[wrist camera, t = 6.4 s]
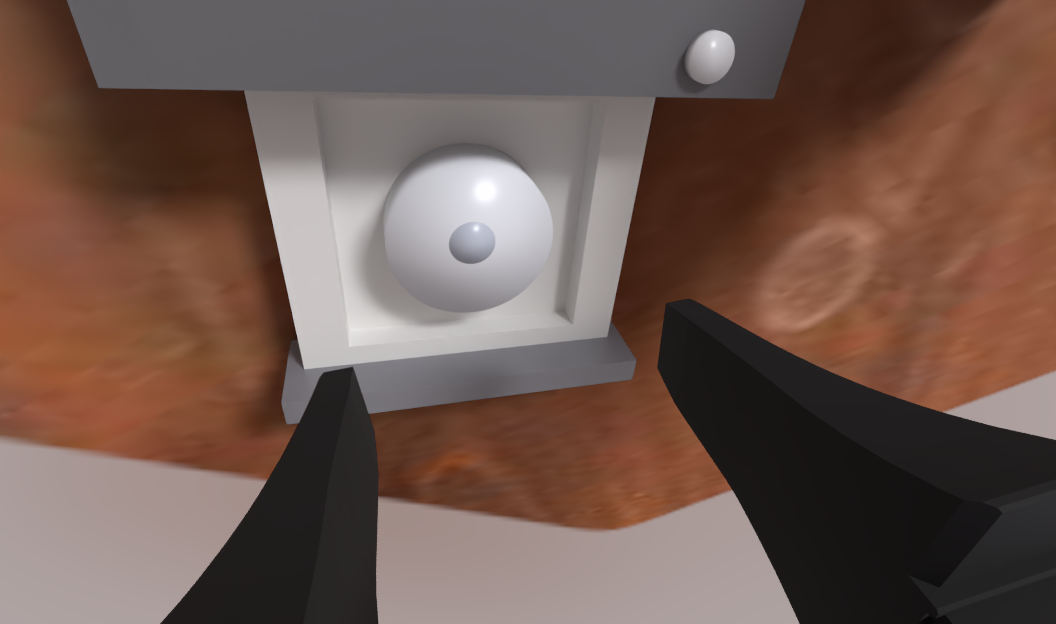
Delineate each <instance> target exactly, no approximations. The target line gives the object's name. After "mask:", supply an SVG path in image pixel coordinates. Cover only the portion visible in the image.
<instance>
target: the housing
mask: <svg viewBox="0 0 1056 624" xmlns="http://www.w3.org/2000/svg"><path fill="white" fill-rule="evenodd" d="M805 1H806V0H67V2H68V5H69V8H70V10H71V13H72V16H73V19H74V21H75V24H76V27H77V30H78V32H79V35H80V38H81V41H82V43H83V46H84V49H85V52H86V54H87V57H88V60H89V63H90V66H91V68H92V71H93V74H94V77H95V79H96V82H97V85H98V88H123V89H185V90H246V91H308V92H370V93H431V94H493V95H554V96H616V97H678V98H739V99H774V97H775V94H776V91H777V88H778V84H779V81H780V78H781V75H782V72H783V69H784V66H785V63H786V60H787V57H788V53H789V50H790V47H791V44H792V41H793V38H794V35H795V32H796V29H797V26H798V23H799V19H800V16H801V13H802V10H803V7H804V4H805Z"/></svg>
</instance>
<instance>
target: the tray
mask: <svg viewBox="0 0 1056 624" xmlns="http://www.w3.org/2000/svg"><path fill="white" fill-rule="evenodd" d="M244 93H245V97H246V102H247V106H248V111H249V116H250V120H251V125H252V130H253V134H254V139H255V144H256V148H257V153H258V157H259V162H260V167H261V171H262V176H263V181H264V185H265V190H266V194H267V199H268V204H269V208H270V213H271V218H272V222H273V227H274V232H275V236H276V241H277V245H278V250H279V255H280V259H281V264H282V269H283V273H284V278H285V282H286V287H287V292H288V296H289V301H290V306H291V310H292V315H293V319H294V324H295V329H296V333H297V338H298V340H291V342H290V348H289V355H288V362H287V368H286V375H285V381H284V388H283V395H282V401H281V404H282V408H283V412H284V416H285V420H286V423H287V424H295V423H299V422H300V420H301V418H302V416H303V413H304V411H305V409H306V407H307V405H308V403H309V401H310V398H311V396H312V394H313V392H314V389H315V387H316V385H317V382H318V380H319V377H320V376H321V375H322V374H323V372H328V371H333V370H338V369H343V368H348V367H353V368H354V371H355V374H356V377H357V380H358V383H359V386H360V389H361V392H362V395H363V398H364V401H365V404H366V407H367V410H368V413H369V414H371V413H379V412H387V411H394V410H402V409H410V408H417V407H425V406H433V405H440V404H448V403H456V402H463V401H471V400H479V399H486V398H494V397H502V396H509V395H517V394H525V393H532V392H540V391H548V390H555V389H563V388H571V387H578V386H586V385H594V384H601V383H609V382H617V381H624V380H632V378H633V374H634V370H635V366H636V362H637V360H636V358H635V357H634V355H633V354H632V352H631V351H630V349H629V347H628V346H627V344H626V343H625V341H624V340H623V338H622V337H621V335H620V334H619V332H618V331H617V329H616V328H615V326H614V324H613V323H612V321H611V316H612V311H613V306H614V301H615V296H616V291H617V286H618V281H619V276H620V271H621V266H622V261H623V256H624V251H625V246H626V241H627V236H628V232H629V227H630V222H631V217H632V212H633V207H634V202H635V197H636V192H637V187H638V182H639V177H640V172H641V167H642V162H643V157H644V152H645V147H646V142H647V137H648V132H649V127H650V122H651V118H652V113H653V108H654V103H655V98H656V97H616V96H554V95H493V94H431V93H370V92H308V91H246V90H244ZM460 143H471V144H479V145H485V146H488V147H491V148H494V149H497V150H499V151H501V152H503V153H505V154H507V155H508V156H510V157H511V158H513V159H514V160H515V161H516V162H517V163H519V164H520V165H521V166H522V167H523V169H524V170H525V171H526V172H527V173H528V175H529V176H530V178H531V179H532V180H533V182H534V183H535V185H536V186H537V188H538V189H539V190H540V192H541V193H542V195H543V197H544V198H545V200H546V202H547V204H548V207H549V209H550V213H551V217H552V223H553V240H552V246H551V250H550V253H549V256H548V259H547V261H546V263H545V265H544V267H543V269H542V270H541V272H540V274H539V275H538V276H537V277H536V279H535V280H534V281H533V282H532V283H531V284H530V285H529V286H528V287H527V288H526V289H525V290H524V291H523V292H521V293H520V294H519V295H518V296H516V297H514V298H513V299H511V300H510V301H508V302H506V303H504V304H502V305H499V306H497V307H494V308H491V309H487V310H483V311H478V312H468V313H458V312H449V311H443V310H440V309H436V308H433V307H431V306H428V305H426V304H424V303H422V302H420V301H419V300H417V299H416V298H414V297H413V296H412V295H410V294H409V293H408V292H407V291H406V290H405V289H404V288H403V287H402V286H401V285H400V283H399V282H398V281H397V279H396V278H395V276H394V274H393V272H392V270H391V268H390V265H389V262H388V259H387V254H386V248H385V237H384V227H383V213H384V206H385V202H386V199H387V195H388V193H389V191H390V189H391V186H392V185H393V183H394V182H395V180H396V178H397V177H398V176H399V175H400V173H401V172H402V171H403V170H404V169H405V168H406V167H407V166H408V165H409V164H410V163H411V162H413V161H414V160H415V159H417V158H418V157H420V156H421V155H423V154H425V153H427V152H429V151H431V150H434V149H436V148H439V147H442V146H447V145H451V144H460Z"/></svg>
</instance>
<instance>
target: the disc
mask: <svg viewBox="0 0 1056 624" xmlns="http://www.w3.org/2000/svg"><path fill="white" fill-rule="evenodd" d="M383 227H384V237H385V248H386V254H387V259H388V262H389V265H390V268H391V270H392V272H393V274H394V276H395V278H396V279H397V281H398V282H399V283H400V285H401V286H402V287H403V288H404V289H405V290H406V291H407V292H408V293H409V294H410V295H412V296H413V297H414V298H416V299H417V300H419V301H420V302H422V303H424V304H426V305H428V306H431V307H433V308H436V309H440V310H443V311H449V312H458V313H468V312H478V311H483V310H487V309H491V308H494V307H497V306H499V305H502V304H504V303H506V302H508V301H510V300H511V299H513V298H514V297H516V296H518V295H519V294H520V293H521V292H523V291H524V290H525V289H526V288H527V287H528V286H529V285H530V284H531V283H532V282H533V281H534V280H535V279H536V277H537V276H538V275H539V274H540V272H541V270H542V269H543V267H544V265H545V263H546V261H547V259H548V256H549V253H550V250H551V246H552V240H553V223H552V217H551V213H550V209H549V207H548V204H547V202H546V200H545V198H544V197H543V195H542V193H541V192H540V190H539V189H538V188H537V186H536V185H535V183H534V182H533V180H532V179H531V178H530V176H529V175H528V173H527V172H526V171H525V170H524V169H523V167H522V166H521V165H520V164H519V163H517V162H516V161H515V160H514V159H513V158H511V157H510V156H508V155H507V154H505V153H503V152H501V151H499V150H497V149H494V148H491V147H488V146H485V145H479V144H471V143H460V144H451V145H447V146H442V147H439V148H436V149H434V150H431V151H429V152H427V153H425V154H423V155H421V156H420V157H418V158H417V159H415V160H414V161H413V162H411V163H410V164H409V165H408V166H407V167H406V168H405V169H404V170H403V171H402V172H401V173H400V175H399V176H398V177H397V178H396V180H395V182H394V183H393V185H392V186H391V189H390V191H389V193H388V195H387V199H386V202H385V206H384V213H383Z"/></svg>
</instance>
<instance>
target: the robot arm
mask: <svg viewBox="0 0 1056 624" xmlns="http://www.w3.org/2000/svg"><path fill="white" fill-rule="evenodd" d="M657 368H658V370H659V372H660V374H661V376H662V378H663V381H664V383H665V385H666V387H667V389H668V391H669V393H670V395H671V397H672V399H673V401H674V403H675V404H676V406H677V407H678V409H679V410H680V412H681V414H682V415H683V417H684V418H685V420H686V421H687V423H688V424H689V426H690V427H691V429H692V430H693V432H694V433H695V434H696V436H697V437H698V439H699V440H700V442H701V443H702V445H703V446H704V448H705V449H706V451H707V452H708V454H709V455H710V457H711V458H712V459H713V461H714V462H715V464H716V465H717V467H718V468H719V470H720V471H721V473H722V474H723V476H724V477H725V479H726V480H727V482H728V484H729V485H730V487H731V488H732V490H733V492H734V493H735V495H736V497H737V498H738V500H739V502H740V504H741V506H742V508H743V509H744V511H745V513H746V515H747V517H748V519H749V521H750V523H751V524H752V526H753V528H754V530H755V532H756V534H757V536H758V538H759V540H760V541H761V544H762V546H763V548H764V550H765V552H766V554H767V556H768V558H769V559H770V562H771V564H772V566H773V568H774V570H775V571H776V574H777V576H778V578H779V580H780V582H781V584H782V587H783V589H784V591H785V593H786V595H787V597H788V599H789V601H790V604H791V606H792V608H793V610H794V612H795V614H796V617H797V619H798V621H799V623H800V624H1056V440H1053V439H1048V438H1044V437H1040V436H1035V435H1030V434H1026V433H1021V432H1016V431H1012V430H1008V429H1003V428H998V427H994V426H990V425H986V424H983V423H979V422H975V421H972V420H968V419H964V418H961V417H957V416H953V415H949V414H946V413H943V412H939V411H936V410H933V409H929V408H926V407H923V406H920V405H917V404H914V403H911V402H908V401H905V400H902V399H899V398H896V397H893V396H890V395H887V394H884V393H882V392H879V391H876V390H874V389H871V388H868V387H866V386H863V385H861V384H858V383H856V382H853V381H851V380H848V379H846V378H844V377H841V376H839V375H836V374H834V373H832V372H829V371H827V370H825V369H823V368H820V367H818V366H816V365H814V364H812V363H810V362H808V361H806V360H804V359H802V358H800V357H797V356H795V355H793V354H791V353H789V352H787V351H785V350H783V349H782V348H780V347H778V346H776V345H774V344H772V343H770V342H768V341H766V340H764V339H763V338H761V337H759V336H757V335H755V334H753V333H752V332H750V331H748V330H746V329H744V328H743V327H741V326H739V325H737V324H736V323H734V322H732V321H730V320H729V319H727V318H725V317H723V316H721V315H720V314H718V313H716V312H714V311H712V310H711V309H709V308H707V307H705V306H703V305H702V304H700V303H698V302H696V301H694V300H692V299H685V300H680V301H675V302H670V303H666V307H665V314H664V322H663V329H662V337H661V344H660V352H659V359H658V367H657ZM377 516H378V463H377V452H376V442H375V432H374V428H373V425H372V422H371V419H370V416H369V413H368V410H367V407H366V404H365V401H364V398H363V395H362V392H361V389H360V386H359V383H358V380H357V377H356V374H355V371H354V368H353V367H348V368H343V369H338V370H333V371H328V372H323V374H322V375H321V376H320V377H319V380H318V382H317V385H316V387H315V389H314V392H313V394H312V396H311V398H310V401H309V403H308V405H307V407H306V409H305V411H304V413H303V416H302V418H301V420H300V422H299V424H298V426H297V428H296V430H295V432H294V434H293V435H292V437H291V439H290V441H289V443H288V445H287V447H286V449H285V451H284V453H283V454H282V456H281V458H280V460H279V462H278V463H277V465H276V467H275V468H274V470H273V472H272V473H271V475H270V477H269V479H268V480H267V482H266V484H265V485H264V487H263V489H262V490H261V492H260V494H259V495H258V497H257V498H256V500H255V502H254V503H253V505H252V506H251V508H250V510H249V511H248V513H247V514H246V515H245V517H244V518H243V520H242V521H241V523H240V524H239V525H238V527H237V528H236V530H235V531H234V532H233V534H232V535H231V537H230V538H229V540H228V541H227V543H226V544H225V545H224V547H223V548H222V549H221V550H220V552H219V553H218V554H217V556H216V557H215V558H214V559H213V561H212V562H211V563H210V565H209V566H208V567H207V569H206V570H205V571H204V572H203V574H202V575H201V577H200V578H199V579H198V580H197V581H196V583H195V584H194V585H193V586H192V587H191V589H190V590H189V591H188V593H187V594H186V595H185V596H184V597H183V598H182V600H181V601H180V602H179V603H178V604H177V605H176V607H175V608H174V609H173V610H172V611H171V612H170V613H169V614H168V616H167V617H166V618H165V619H164V620H163V621H162V622H161V623H160V624H378V612H377V599H376V550H377Z"/></svg>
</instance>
